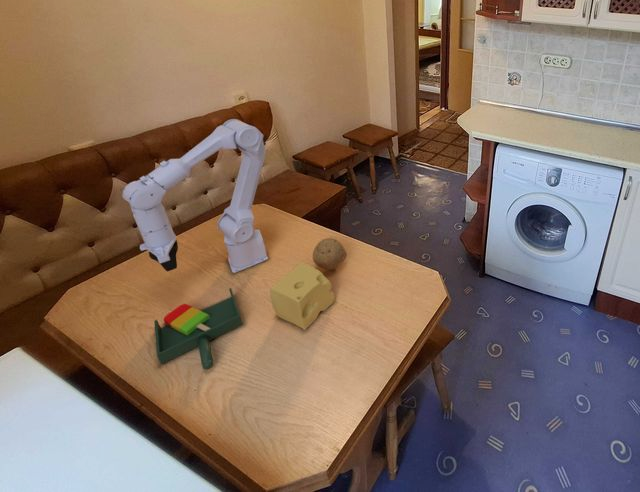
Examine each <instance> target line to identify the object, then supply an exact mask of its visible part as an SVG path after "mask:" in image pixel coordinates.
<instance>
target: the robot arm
mask: <svg viewBox="0 0 640 492" xmlns="http://www.w3.org/2000/svg"><path fill="white" fill-rule="evenodd" d="M237 149H238V150H239V151H240V152H241V153H242V154H243V155H242V158H241V162H240V167H239V169H238V174H237V178H236V181H235V185H234V190H233V193H232V197H231V201H230V203H229V206H227V207H226V208H224V210H223V213H222V215H221V216H220V218H219V219H218V221H217V223H216V227H217V229H218V230H219V232H221V233H223V235H224V239H223V242H224V244H225V248H226V252H227V255H228V258H227V261H228V264H229V267H230V269H231V273H232V274H236V273H238V272H241V271H243V270H246V269H248V268H250V267H253V266H256V265H258V264H261V263H264V262H265V261H268V260H269V257H268V254H267V248H266V245H265V242H264V239H263V236H262V233H261V230H260V229H255V226H254V222H255V216H254V213H253V211H252V207H253V204H254V199H255V196H256V193H257V188H258V185H259V181H260V176H261V173H262V170H263V167H264V166H263V165H264V161H265V158H266V155H267V150H266V149H267V148H266V145H265V143H264V134H263V132H261V131H260V130H259V129H258V128H257V127H256V126H253V125H250V124H247V123H246V122H243V121H242V120H240V119H237V118H231V119H228V120H226V121H225V122H224V123H223V124H221V125H219V126H217V127H216V128H215V129H214V130H213V131H212V133H211V134H209V135H208V136H207V137H205V138H204V139H203V140H201V141H200V142H199V143H198V144H197V145H195V146H193V148H192V149H190V150H189V151H188V152H186V153H185V154H184V155H182V156H181V157H180V158H170V159H168V160H167V161H166V160H162V161H161V162H160V163H159V166H157V168H155V169H154V170H152V171H151V172H149V173H148V174H146V175H142V176H141V177H139V179H138V180H134V181H130V182H129V183H128V184H126V185H125V187H124V189H122V190H123V191H122V195H121V197H122V198H123V200H124V201H126V202H127V203H128V204H129V206H130V210H131V212H132V217H133V219H134V220H135V223H136V226H137V228H138V230H139V233H140V235H141V238H142V240H143V242H144V243H141V244H139V250H140V251H141V252H143V251H145V250H146V251H148V256H149V258H150V259H151V260H152V261H155V262H157V263H158V264H160V266H161V267H162V268H163V269H164V270H165V271H166V272H170V271H173V270H175V269H177V268H178V261H177V253H178V250H179V244H178V240H177V235H176V234H175V232H174V230H173V227H172V224H171V222H170V219H169V217H168V214H167V212H166V208H165V206H164V205H163V204H162V201H163V200H164V196H165V195H166V194H167V193H168V192H169V191H171V190H172V189H173V188H174V187H176V186H177V185H179V184H180V183H182V182H183V181H185V180H186V179H187V178H188V177H189V176H190V175H191V171H192V168H194V167H196V166H198V165H199V164H200V163H201V162H203V161H204V160H206V159H208V158H210V157H211V156H212V155H214V154H215V153H217V152H219V151H220V150H237Z"/></svg>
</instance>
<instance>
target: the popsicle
mask: <svg viewBox="0 0 640 492" xmlns="http://www.w3.org/2000/svg"><path fill="white" fill-rule="evenodd" d="M209 318H210V317H209V315H208V314H206V313H204V312H202V311H201V310H200V309H198V308H196V307H194V306H191V305H190V304H187V303H183V304H180V305H178V306H177V307H176V308H174V309H173V310H171V311H170V312H168V314H166V315H165V316H164V317H163V322H164V324H165V326H167V325H168V326H170V327H172V328H174V329H175V330H177V331H179V332H181V333H183V334H185V335H187V336H188V335H189V334H191V333H192V332H193V331H194V330H196V329H197V328H199V329H201V330H203V331H206V330H208V329H210V328H209V327H207V326H205V325H203V323H204V322H206V321H207V320H208V319H209Z"/></svg>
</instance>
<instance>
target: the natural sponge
mask: <svg viewBox="0 0 640 492" xmlns="http://www.w3.org/2000/svg"><path fill="white" fill-rule="evenodd" d="M346 258H347V250H346V248H344V246H343V244H342V243H341V242H340V241H339V240H338V239H336V238H333V237H326V238H323V239H321V240H320V241H319V242H317V244H316V245H315V247H314V249H313V252H312V261H313V263H314V264H315V265H316V266H318V267H320V268H321V269H323V270H326V271H332V270H334V269H336V268H337V267H338V266H339V265H340V264H342V263H343V262H344V261H345V260H346Z"/></svg>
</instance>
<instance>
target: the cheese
mask: <svg viewBox="0 0 640 492" xmlns="http://www.w3.org/2000/svg"><path fill="white" fill-rule="evenodd" d="M331 289H332V283H331V281H330V280H329V279H328V278H327V277H326V276H325V275H324V273H323V272H322V271H320V270H318V269H317V268H315V267H314V266H312V265H309V264H308V263H305V262H302V261H301V262H299V264H298V265H296V266H295V267H294V268H293V269H292V270H291V271H289V272H288V273H287V275H285V276H284V277H282V279H280V280H279V281H278V282H277V283H275V284H274V285H273V286H271V287H270V301H271V305H272V308H273V310H274V312H275V314H276V315H277V317H278V318H281V319H283V320H284V321H286V322H288V323H291V324H292V325H294V326H296V327H299V328H301V329H302V330H304V331H305V330H307V329H308V328H309V327H310V326H311V324H312V323H314V321H316V320H317V319H318V317H319V314H320V312H321V311H322V312H324V311H326V310H328V308H329V307H330V306H331V305H333V304H334V303H335V301H336V300H335V299H336V297H335V293H334V292H333V291H332V290H331Z"/></svg>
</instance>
